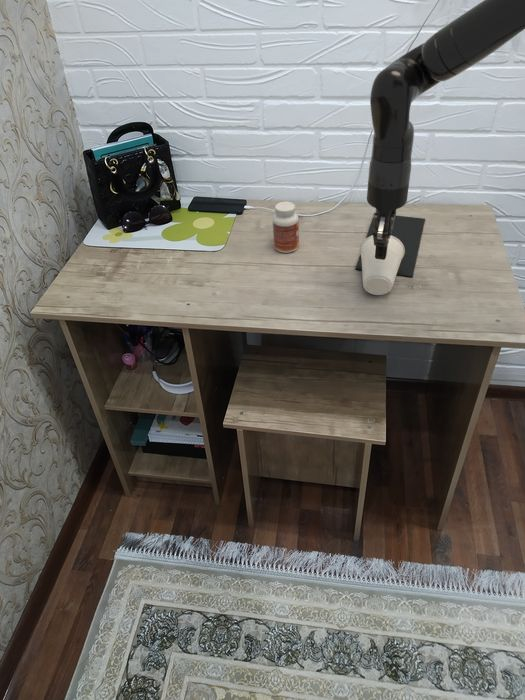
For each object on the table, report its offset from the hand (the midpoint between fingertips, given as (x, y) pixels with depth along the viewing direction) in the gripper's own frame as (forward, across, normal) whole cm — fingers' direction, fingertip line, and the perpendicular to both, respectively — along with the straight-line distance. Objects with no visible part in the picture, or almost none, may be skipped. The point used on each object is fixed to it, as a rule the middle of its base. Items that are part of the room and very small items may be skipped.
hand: (380, 257), depth 117 cm
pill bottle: (+10, +15, +24) cm, 30 cm away
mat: (+10, +22, 0) cm, 24 cm away
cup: (+7, -1, 0) cm, 7 cm away
